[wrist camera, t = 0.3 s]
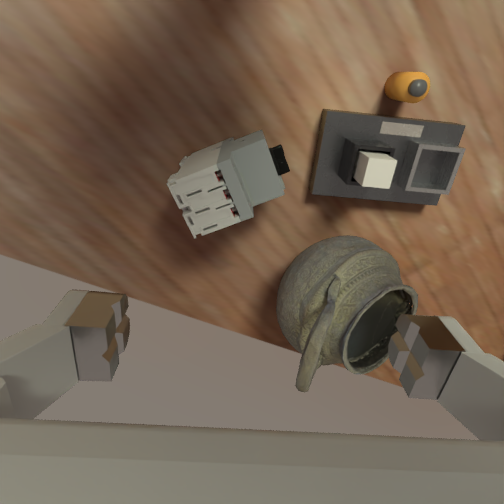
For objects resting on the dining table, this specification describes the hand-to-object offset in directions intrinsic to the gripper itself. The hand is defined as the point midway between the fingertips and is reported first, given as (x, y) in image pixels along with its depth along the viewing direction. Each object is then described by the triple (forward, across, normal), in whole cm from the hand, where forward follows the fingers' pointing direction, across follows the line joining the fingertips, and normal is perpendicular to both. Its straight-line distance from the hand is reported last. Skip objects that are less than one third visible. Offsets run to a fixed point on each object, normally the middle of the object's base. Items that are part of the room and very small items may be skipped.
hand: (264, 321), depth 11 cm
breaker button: (+40, -17, +3) cm, 43 cm away
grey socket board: (+46, -21, +3) cm, 51 cm away
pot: (+46, -17, +24) cm, 55 cm away
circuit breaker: (+46, +1, +6) cm, 47 cm away
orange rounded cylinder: (+46, -21, -7) cm, 51 cm away
